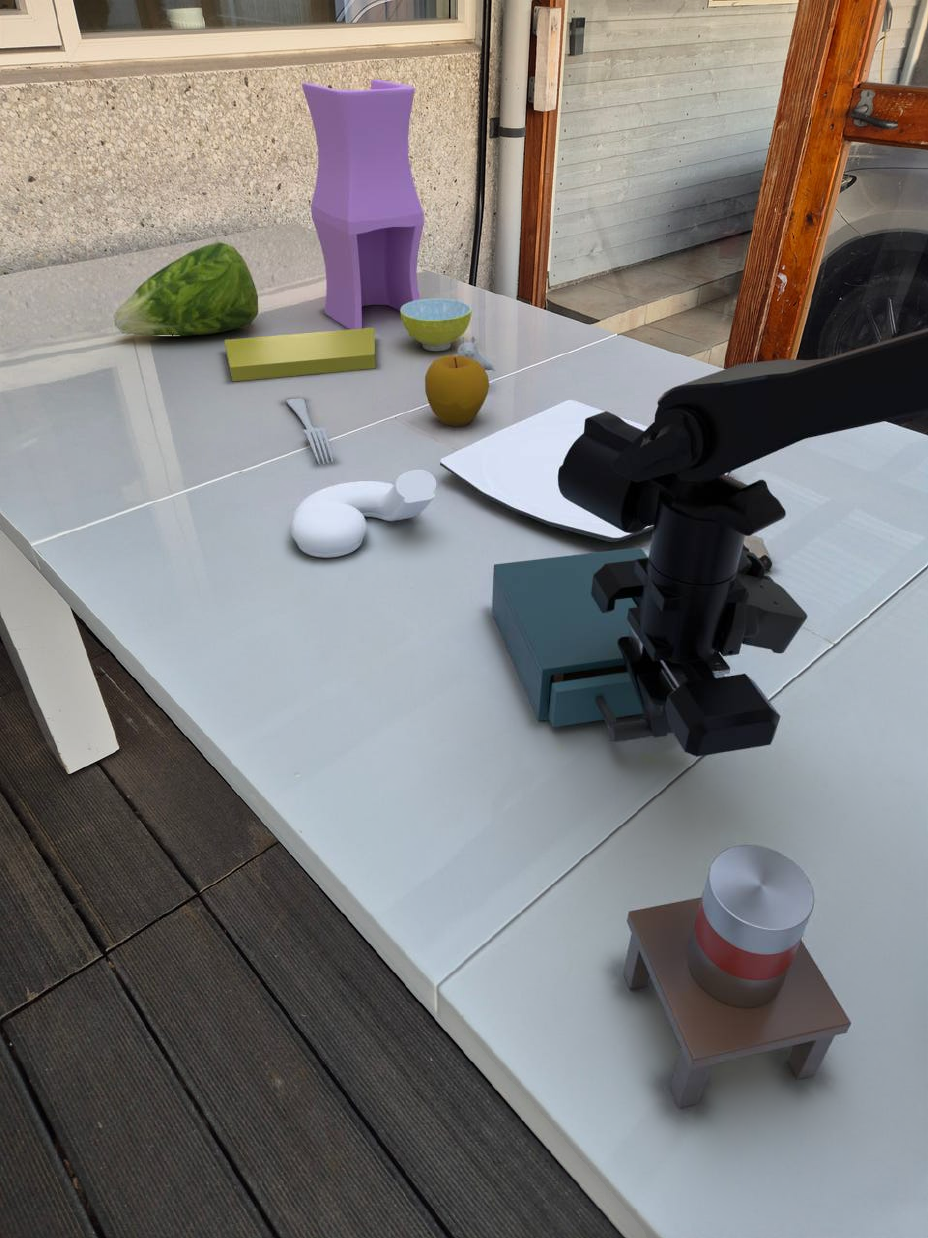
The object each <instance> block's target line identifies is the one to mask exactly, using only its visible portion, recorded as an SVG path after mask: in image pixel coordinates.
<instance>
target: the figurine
mask: <svg viewBox="0 0 928 1238" xmlns="http://www.w3.org/2000/svg"><path fill="white" fill-rule="evenodd" d="M455 356H465V357H468V358H471V359H474V360H476V361H478V362H479V363H480V364H481V366H482V367H483V368H484V369H485V371H493V372H495V368H494V366H493V364H492V363H491V362H490V361H488V360H487V359H486V358H485V357H484V356H483V355H482V354H481V353H480V351H479V349H478V347H477V344H475V337H474V336H472V337H471V341H466V340H465V337H464V336H462V338H461V344H459V346H458V347H457V350H456V354H455Z"/></svg>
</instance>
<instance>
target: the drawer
mask: <svg viewBox="0 0 928 1238" xmlns="http://www.w3.org/2000/svg"><path fill="white" fill-rule="evenodd" d="M549 697H550V709H549V719H548V720H549V722H550V724H551V726H552V728H557V727H564V726H570V725H576V724H583V723H589V722H596V721H602V720H603V721H605V723H606V725H607V736H608V739H609V740H610V742H611V743H612V744H613V743H619V742H627V741H631V740H639V739H644V738H645V739H646V738H650V737H651V738H652V737H653V735H652V733H651V731H650V729H649V726H648V724H647V721H646V718H643V719H635V720H630V721H629V720H628V721H623V722H618V721H617V720H616V718H622V717H629V716H635V715H642V714H644V713H643V710H642V707H641V704H640V701H639V699H638V696H637V693H636V691H635V688H634V685H633V683H632V680H631V677H630V675H629V672H628V669H627V667H626V665H621V666H614V667H607V668H599V669H592V670H585V671H578V672H571V673H564V674H557V675H551V684H550V695H549ZM671 734H674V733H673V731H672V730H671V731H670V732H669V733H668V735H671Z"/></svg>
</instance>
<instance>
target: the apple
mask: <svg viewBox="0 0 928 1238" xmlns="http://www.w3.org/2000/svg"><path fill="white" fill-rule="evenodd" d="M489 389H490V380H489V376H488V374H487V370H485V369H484V368H483V367H482V366H481V364H480V363H479V362H478V361H476V360H474V359H471V358H468V357H465V356H456V355H442V356H440V357H438V358H437V359H435V360H433V361H432V363H431V364H430V365H429V367H428V369H427V371H426V373H425V376H424V391H425V395H426V398H427V402H428V404H429V407H430V408H431V410H432V412H433V414H434V415H435V417H436V418H437V419H438V421H439V422H441V423H442V424H444V425H447V426H451V427H463V426H465V425H468V424H469V423H471V422H472V421H473V420H474V418H476V417H477V415H478V413H479V412H480V410H481V408H482V406H483V405H484V403H485V401H486V399H487V396H488V393H489Z"/></svg>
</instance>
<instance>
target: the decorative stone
mask: <svg viewBox="0 0 928 1238" xmlns="http://www.w3.org/2000/svg"><path fill="white" fill-rule="evenodd" d="M742 550H743V551H748V552H752V553H754V554H755V555H756V556H757V557H758V558H759V560H760V561H761V562H762V563H763V564H764V565H765V570H771V569H772V567H773V561H772V559H771V556H770V553H769V551H768V550H767V547H766V546H765V542H764V538H763V537H760V536H756V535H754V534H752V535H750V536H746V535H745V539H744V544H743V548H742Z"/></svg>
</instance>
